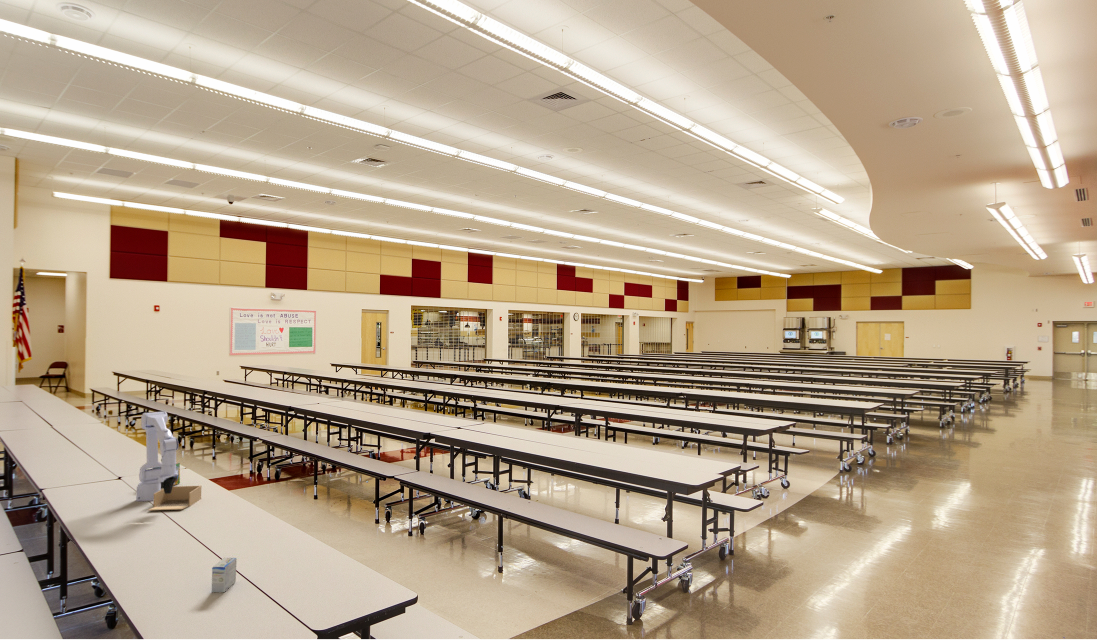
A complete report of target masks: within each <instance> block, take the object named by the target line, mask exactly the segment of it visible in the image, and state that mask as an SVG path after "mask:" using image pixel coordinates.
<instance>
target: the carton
mask: <svg viewBox="0 0 1097 640" xmlns="http://www.w3.org/2000/svg"><path fill="white" fill-rule="evenodd" d="M201 500H202V485H179V486H177V485H174V486H173V488H172V491H171V493H170V494H165V492H164V489H163V488H161V490H160V491H158V492H156V493H155V494H154V501H153V507H152V508H154V507H163V506H188V507H192V506H193V505H195V504H196V503H197V502H198V501H201ZM188 507H187V508H188Z"/></svg>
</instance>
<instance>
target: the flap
mask: <svg viewBox="0 0 1097 640" xmlns="http://www.w3.org/2000/svg"><path fill="white" fill-rule="evenodd" d="M186 508H188V506H187V505H186V506H183V505H182V506H177V505H175V506H165V505H164V506H160V507H154V508H153V507H151V508H149V509H148V511H170V510H171V511H173V510H176V511H177V510H184V509H186Z"/></svg>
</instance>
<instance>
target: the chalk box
mask: <svg viewBox="0 0 1097 640" xmlns="http://www.w3.org/2000/svg"><path fill="white" fill-rule="evenodd" d="M160 461H162V458H161V459H160ZM155 468H159V467H155ZM151 469H153V468H151ZM176 470H178V475H176V476H173V477H177V479H176V480H175V482H174V485H173V486H177V485H179V484H180V483H181V478H180V477H181V473H180V462H176ZM161 489H163V486H162V484H161Z"/></svg>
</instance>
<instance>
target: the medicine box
mask: <svg viewBox="0 0 1097 640" xmlns="http://www.w3.org/2000/svg"><path fill="white" fill-rule="evenodd" d="M236 581H237V557H223V558H222V559H220V560H219V561H218V562H217V563H216V564H215V565H214V566H213V567H211V593H212V592H224V593H225V591H226V590H227V591H228V590H229V589H230V588H231V587H232V586H233V584H235V583H236ZM228 588H229V589H228ZM227 591H226V592H227Z"/></svg>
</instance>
